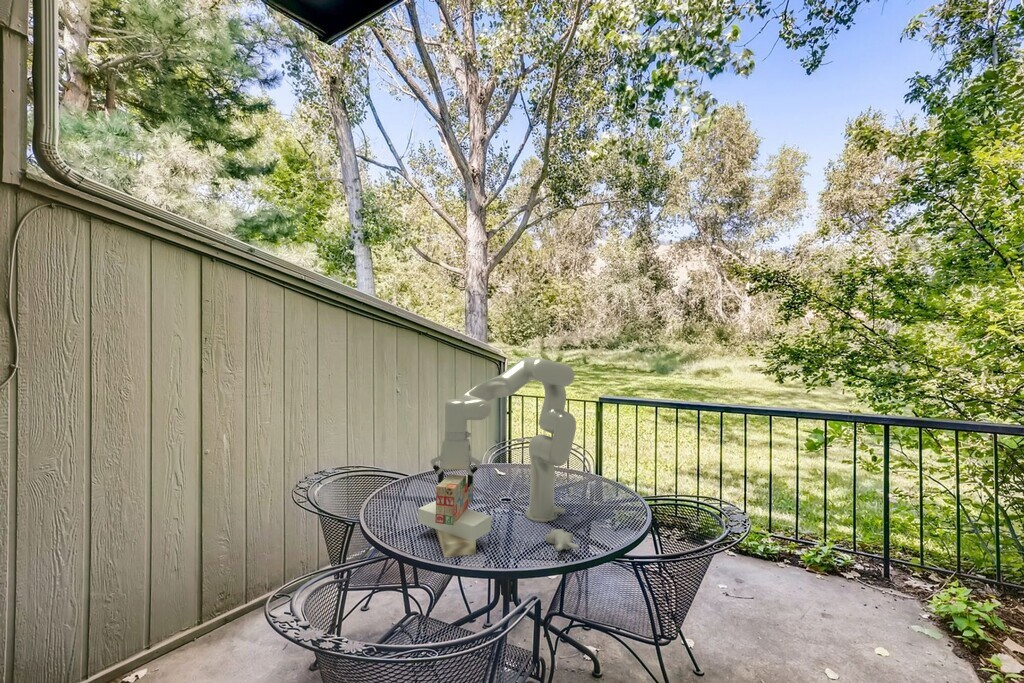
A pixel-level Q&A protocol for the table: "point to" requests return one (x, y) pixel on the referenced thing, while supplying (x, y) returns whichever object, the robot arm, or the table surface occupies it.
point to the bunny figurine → (561, 539)
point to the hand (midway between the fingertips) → (455, 485)
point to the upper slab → (457, 522)
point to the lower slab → (455, 545)
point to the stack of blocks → (452, 498)
